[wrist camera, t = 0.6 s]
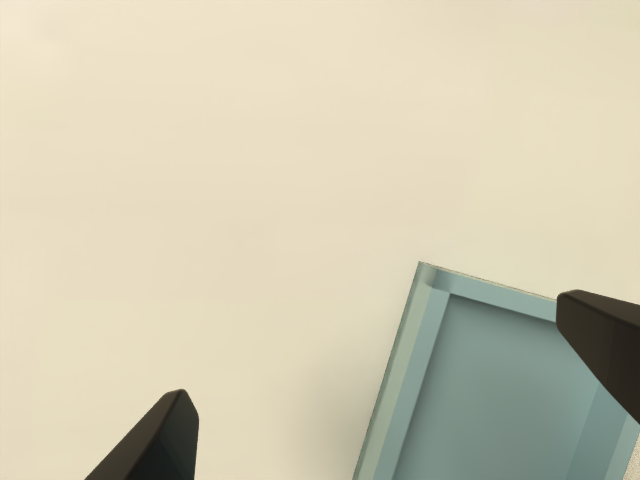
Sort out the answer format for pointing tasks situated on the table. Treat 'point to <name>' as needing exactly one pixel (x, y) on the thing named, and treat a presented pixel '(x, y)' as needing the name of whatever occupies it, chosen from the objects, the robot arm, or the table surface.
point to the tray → (489, 392)
